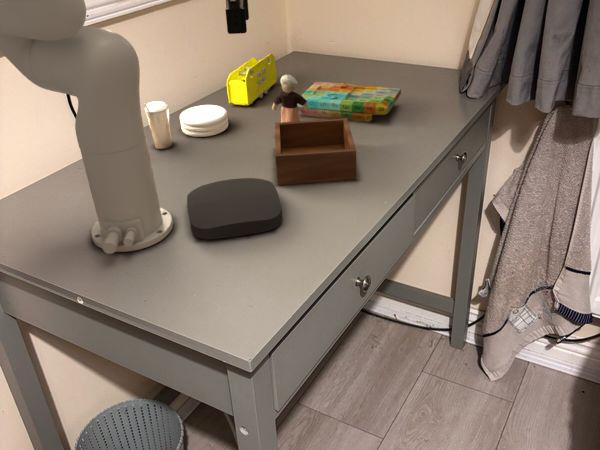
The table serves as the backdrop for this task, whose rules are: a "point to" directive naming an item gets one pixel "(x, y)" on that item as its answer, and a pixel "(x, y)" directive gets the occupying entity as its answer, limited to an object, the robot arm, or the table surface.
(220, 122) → the white short cylinder
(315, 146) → the crate
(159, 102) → the milkshake
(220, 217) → the media streaming box
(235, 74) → the yellow toy chassis
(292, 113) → the grandmother figurine
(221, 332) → the table surface
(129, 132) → the robot arm
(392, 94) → the puzzle game
